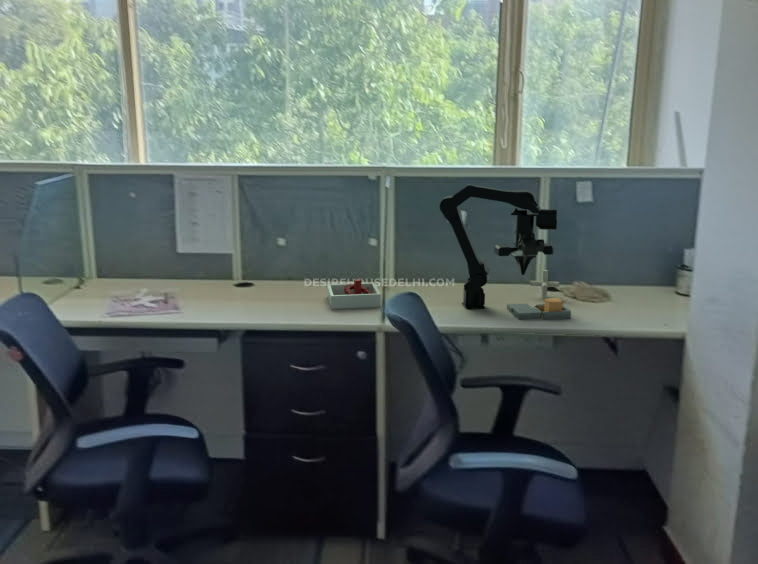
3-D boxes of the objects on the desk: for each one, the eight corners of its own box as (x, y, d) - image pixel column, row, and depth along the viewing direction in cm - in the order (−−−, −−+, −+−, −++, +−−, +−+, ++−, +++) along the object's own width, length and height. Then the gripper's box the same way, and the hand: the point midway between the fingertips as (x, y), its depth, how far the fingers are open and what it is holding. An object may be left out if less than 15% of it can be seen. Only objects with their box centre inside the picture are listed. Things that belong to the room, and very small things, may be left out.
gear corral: (331, 308, 249) (330, 296, 248) (327, 296, 265) (327, 284, 263) (380, 306, 252) (380, 294, 250) (374, 294, 267) (374, 282, 266)
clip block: (549, 301, 238) (562, 301, 239) (544, 298, 242) (558, 298, 242) (548, 316, 239) (561, 316, 240) (544, 313, 243) (557, 312, 244)
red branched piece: (368, 307, 251) (368, 284, 249) (338, 303, 256) (338, 280, 254) (383, 300, 260) (383, 277, 258) (353, 296, 266) (353, 273, 264)
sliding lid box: (520, 320, 236) (520, 313, 235) (511, 312, 244) (511, 305, 244) (570, 318, 238) (571, 311, 237) (560, 310, 247) (560, 303, 246)
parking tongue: (511, 312, 244) (511, 308, 244) (506, 308, 249) (506, 304, 249) (531, 311, 245) (531, 307, 245) (526, 307, 250) (526, 303, 250)
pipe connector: (558, 302, 257) (560, 274, 254) (529, 300, 259) (531, 273, 256) (557, 294, 266) (559, 267, 264) (529, 293, 268) (531, 266, 266)
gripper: (504, 234, 232) (502, 281, 236) (561, 232, 235) (558, 279, 239) (494, 227, 243) (492, 273, 247) (548, 226, 246) (546, 271, 250)
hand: (522, 274), depth 245 cm, fingers closed
